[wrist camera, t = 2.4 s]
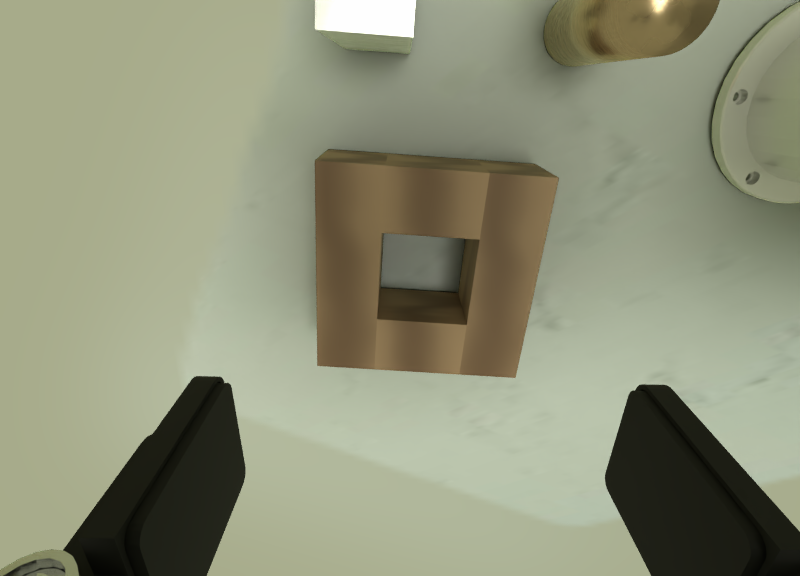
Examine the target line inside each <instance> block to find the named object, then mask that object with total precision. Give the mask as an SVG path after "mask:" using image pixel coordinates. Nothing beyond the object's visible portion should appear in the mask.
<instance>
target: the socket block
mask: <svg viewBox="0 0 800 576" xmlns="http://www.w3.org/2000/svg"><path fill="white" fill-rule="evenodd" d="M558 180H559V178H558V177H556V176H555V175H553V174H551V173H549V172H548V171H546V170H544V169H543V168H541V167H539V166H538V165H536V164H527V163H513V162H499V161H486V160H472V159H458V158H444V157H430V156H416V155H402V154H388V153H374V152H361V151H347V150H333V149H328V150H327V151H326V152H325V153H323V154H322V155H321V156H320V157H319V158H317V159H316V160H315V208H316V288H317V366H330V367H346V368H363V369H379V370H396V371H412V372H429V373H445V374H462V375H478V376H495V377H511V378H515V377H516V373H517V368H518V364H519V359H520V354H521V350H522V345H523V341H524V336H525V331H526V327H527V322H528V318H529V313H530V308H531V304H532V299H533V295H534V290H535V286H536V281H537V276H538V272H539V267H540V263H541V258H542V253H543V249H544V244H545V240H546V235H547V230H548V226H549V221H550V217H551V212H552V208H553V203H554V198H555V194H556V189H557V185H558ZM384 233H390V234H405V235H419V236H434V237H449V238H464V239H466V240H465V247H464V254H463V262H462V269H461V276H460V283H459V291H458V293H450V292H435V291H419V290H404V289H389V288H381V272H382V254H383V235H384Z"/></svg>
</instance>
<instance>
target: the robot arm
mask: <svg viewBox="0 0 800 576" xmlns="http://www.w3.org/2000/svg"><path fill="white" fill-rule="evenodd" d="M733 96H734V97H733ZM712 143H713V149H714V154H715V158H716V160H717V162H718V165H719V167H720V169H721V171H722V173H723V174H724V175H725V176H726V178H727V179H728V180H729V181H730V183H731V184H733V185H734V186H735V187H737V188H738V189H739V190H741V191H742V192H744V193H746V194H749V195H751V196H754V197H756V198H759V199H763V200H766V201H770V202H774V203H788V204H793V203H800V2H798V3H796V4H794V5H792V6H790V7H789V8H787V9H786V10H785V11H783V12H782V13H781V14H779V15H778V16H777V17H775V18H774V19H773V20H771V21H770V22H769V23H768V24H767V25H766V26H765V27H764V28H763V29H762V30H761V31H760V32H759V33H758V34H757V35H756V36H755V37H754V38H753V39H752V40H751V41H750V42H749V43H748V45H747V46H746V47H745V49H744V50H743V51H742V52H741V54H740V55H739V56H738V58H737V59H736V61H735V62H734V64H733V66H732V68H731V69H730V71H729V73H728V75H727V76H726V78H725V80H724V82H723V85H722V88H721V90H720V93H719V95H718V98H717V101H716V105H715V110H714V115H713V120H712ZM244 478H245V463H244V457H243V451H242V445H241V439H240V434H239V428H238V423H237V416H236V411H235V405H234V399H233V393H232V388H231V385H230V384H229V383H224V380H223V379H222V377H208V376H196V377H194V378H193V379H192V380H191V381H190V383H189V384H188V386H187V387H186V388H185V390H184V391H183V393H182V394H181V395H180V397H179V398H178V400H177V401H176V402H175V404H174V405H173V407H172V408H171V409H170V411H169V412H168V414H167V415H166V416H165V418H164V419H163V420H162V422H161V423H160V425H159V426H158V427H157V429H156V430H155V432H154V433H153V434H152V435H150V436H148V437H147V438H146V439H145V440H144V441H143V442H142V443H141V444H140V446H139V447H138V449H137V450H136V451H135V453H134V454H133V455H132V457H131V458H130V459H129V461H128V462H127V464H126V465H125V466H124V468H123V469H122V470H121V472H120V473H119V475H118V476H117V477H116V478H115V480H114V481H113V483H112V484H111V485H110V487H109V488H108V490H107V491H106V492H105V494H104V495H103V496H102V498H101V499H100V500H99V502H98V503H97V504H96V506H95V507H94V509H93V510H92V511H91V513H90V514H89V515H88V517H87V518H86V519H85V521H84V522H83V524H82V525H81V526H80V528H79V529H78V530H77V532H76V533H75V535H74V536H73V537H72V539H71V540H70V542H69V543H68V544H67V546H66V547H65V548H64V550H63V551H61V550H52V549H51V550H45V551H40V552H35V553H33V554H30V555H28V556H25V557H22V558H20V559H18V560H16V561H15V562H13V563H11V564H9V565H8V566H6V567H4V568H2V569H1V570H0V576H207V573H208V571H209V568H210V566H211V563H212V561H213V558H214V556H215V553H216V551H217V548H218V546H219V543H220V541H221V538H222V536H223V533H224V531H225V528H226V526H227V523H228V521H229V518H230V516H231V513H232V511H233V508H234V506H235V503H236V501H237V498H238V496H239V493H240V491H241V488H242V486H243V483H244ZM605 482H606V486H607V489H608V492H609V494H610V496H611V498H612V500H613V502H614V503H615V505H616V507H617V509H618V511H619V513H620V515H621V517H622V519H623V521H624V523H625V525H626V527H627V529H628V531H629V533H630V535H631V537H632V539H633V541H634V542H635V544H636V547H637V548H638V550H639V552H640V554H641V556H642V558H643V560H644V562H645V564H646V566H647V568H648V570H649V572H650V574H651V576H800V532H799V531H798V529H797V528H796V527H795V526H794V525H793V524H792V523H791V522H790V521H789V519H788V518H787V517H786V516H785V515H784V514H783V513H782V512H781V510H780V509H779V508H778V507H777V506H776V505H775V504H774V503H773V502H772V500H771V499H770V498H769V497H768V496H767V495H766V494H765V493H764V491H763V490H762V489H761V488H760V487H759V486H758V485H757V484H756V482H755V481H754V480H753V479H752V478H751V477H750V476H749V475H748V474H747V472H746V471H745V470H744V469H743V468H742V467H741V466H740V465H739V463H738V462H737V461H736V460H735V459H734V458H733V457H732V456H731V455H730V453H729V452H728V451H727V450H726V449H725V448H724V447H723V446H722V444H721V443H720V442H719V441H718V440H717V439H716V438H715V437H714V436H713V434H712V433H711V432H710V431H709V430H708V429H707V428H706V427H705V425H704V424H703V423H702V422H701V421H700V420H699V419H698V418H697V417H696V415H695V414H694V413H693V412H692V411H691V410H690V409H689V408H688V406H687V405H686V404H685V403H684V402H683V401H682V400H681V399H680V398H679V396H678V395H677V394H676V393H675V392H674V391H673V390H672V389H671V388H670V387H669V386H666V385H639V386H638V387H637V388H636V390H635V391H631V392H630V394H629V396H628V399H627V403H626V406H625V409H624V413H623V416H622V420H621V423H620V426H619V430H618V433H617V436H616V440H615V443H614V447H613V450H612V453H611V457H610V460H609V463H608V467H607V470H606V474H605Z"/></svg>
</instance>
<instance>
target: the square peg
mask: <svg viewBox="0 0 800 576" xmlns="http://www.w3.org/2000/svg"><path fill="white" fill-rule="evenodd" d="M415 3H416V0H315V30H317V31H318V32H320V33H321V34H323V35H324V36H326V37H327V38H329V39H330V40H332V41H333V42H335V43H336V44H338V45H340V46H341V47H343V48H344V49H351V50H364V51H377V52H390V53H403V54H410V50H411V45H412V40H413V31H414V17H415Z"/></svg>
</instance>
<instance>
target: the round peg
mask: <svg viewBox="0 0 800 576" xmlns="http://www.w3.org/2000/svg"><path fill="white" fill-rule="evenodd" d="M719 1H720V0H559V1H558V2H557V3H556V4H555V5H554V7H553V8H552V10H551V11H550V13H549V15H548V17H547V20H546V24H545V29H544V40H545V45H546V48H547V51H548V52H549V54H550V55H551V57H552V58H553V59H554V60H555V61H557V62H558V63H560V64H562V65H565V66H582V65H590V64H599V63H607V62H615V61H624V60H632V59H641V58H649V57H657V56H665V55H669V54H673V53H675V52H678V51H680V50H682V49H683V48H685V47H687V46H688V45H690V44H691V43H692V42H693V41H694V40H696V39H697V38H698V37H699V36H700V35H701V34H702V32H703V31H704V30H705V29H706V27H707V26H708V25H709V23H710V21H711V20H712V18H713V16H714V14H715V12H716V10H717V7H718V4H719Z"/></svg>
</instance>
